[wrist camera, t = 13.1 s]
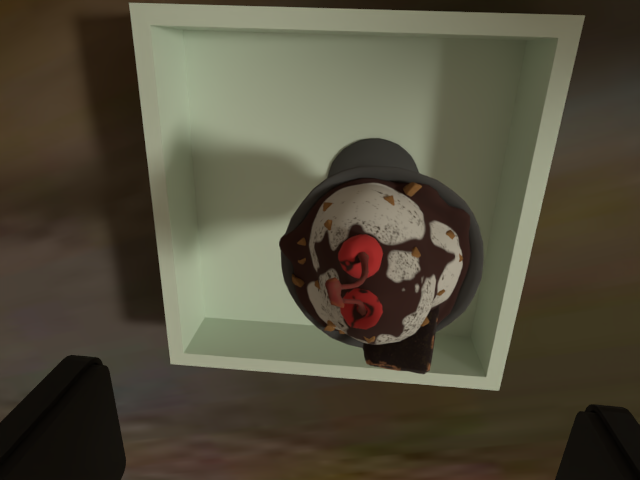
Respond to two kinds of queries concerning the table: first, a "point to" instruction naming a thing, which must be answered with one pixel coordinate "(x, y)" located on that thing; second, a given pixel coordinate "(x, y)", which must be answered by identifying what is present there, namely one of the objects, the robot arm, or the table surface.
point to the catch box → (320, 151)
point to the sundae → (382, 256)
